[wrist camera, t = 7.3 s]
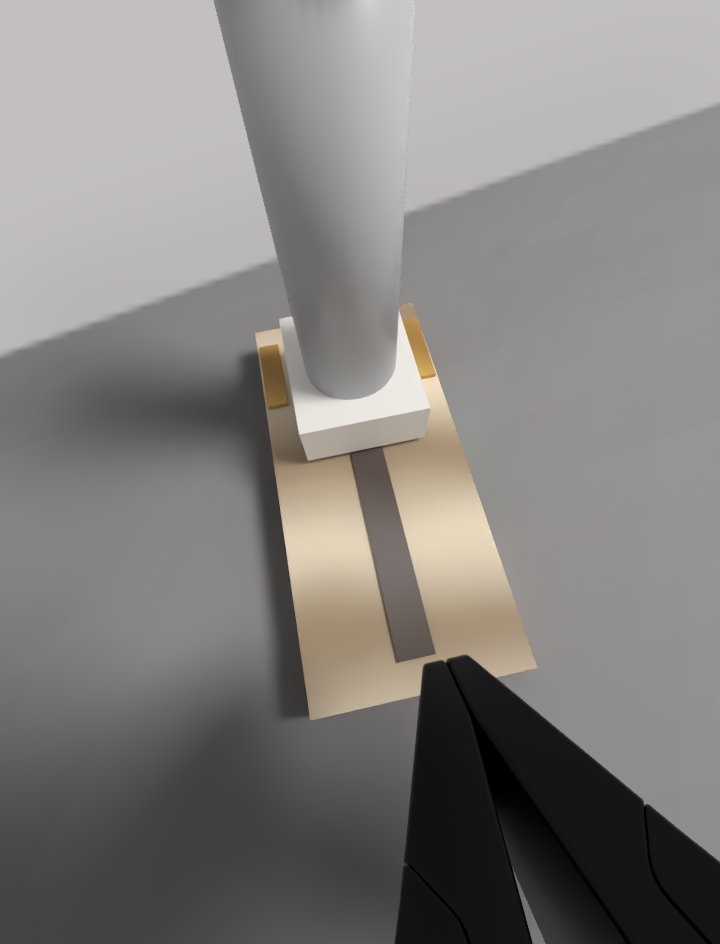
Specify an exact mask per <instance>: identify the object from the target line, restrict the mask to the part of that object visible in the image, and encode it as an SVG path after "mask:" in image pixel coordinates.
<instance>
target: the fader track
mask: <svg viewBox="0 0 720 944" xmlns="http://www.w3.org/2000/svg"><path fill="white" fill-rule="evenodd" d="M399 312H400V315H401V318H402V322H403V325H404V328H405V331H406V334H407V337H408V340H409V343H410V346H411V349H412V353H413V356H414V359H415V362H416V365H417V368H418V371H419V374H420V377H421V380H422V384H423V387H424V390H425V393H426V396H427V399H428V402H429V405H430V413H429V418H428V423H427V428H426V433H425V437H422V438H417V439H413V440H408V441H403V442H398V443H393V444H388V445H383V446H378V447H374V448H369V449H364V450H359V451H354V452H349V453H344V454H339V455H335V456H330V457H325V458H320V459H315V460H310V461H308V459H307V456H306V453H305V450H304V447H303V444H302V442H301V439H300V436H299V431H298V425H297V420H296V414H295V408H294V402H293V397H292V391H291V385H290V379H289V373H288V368H287V362H286V356H285V350H284V345H283V339H282V333H281V328H279V329H274V330H269V331H263V332H258V333H255V335H256V342H257V349H258V356H259V363H260V370H261V377H262V384H263V391H264V398H265V405H266V412H267V419H268V426H269V433H270V440H271V447H272V454H273V461H274V468H275V475H276V483H277V490H278V497H279V504H280V511H281V518H282V525H283V532H284V539H285V546H286V553H287V560H288V567H289V574H290V581H291V588H292V595H293V602H294V609H295V616H296V623H297V630H298V637H299V644H300V651H301V658H302V665H303V672H304V679H305V686H306V693H307V700H308V707H309V714H310V721H312V720H316V719H320V718H324V717H329V716H333V715H337V714H342V713H346V712H350V711H354V710H359V709H363V708H367V707H372V706H376V705H380V704H384V703H389V702H393V701H397V700H402V699H406V698H410V697H414V696H419V695H420V690H421V679H422V669H423V665H424V664H425V663H429V662H433V661H438V660H444V661H445V662H446V660H447V659H448V658H451V657H455V656H459V655H464V654H466V655H469V656H470V657H471V658H473V659H474V660H475V661H476V662H477V663H479V664H480V665H481V666H482V667H483V668H485V669H486V670H487V671H488V672H489V673H491V674H492V675H493V676H494V677H500V676H504V675H509V674H513V673H517V672H522V671H526V670H530V669H534V668H537V665H536V662H535V659H534V656H533V653H532V650H531V648H530V645H529V642H528V639H527V636H526V633H525V630H524V627H523V624H522V621H521V618H520V615H519V613H518V610H517V607H516V604H515V601H514V598H513V595H512V592H511V589H510V586H509V583H508V580H507V577H506V575H505V572H504V569H503V566H502V563H501V560H500V557H499V554H498V551H497V548H496V545H495V542H494V539H493V537H492V534H491V531H490V528H489V525H488V522H487V519H486V516H485V513H484V510H483V507H482V504H481V502H480V499H479V496H478V493H477V490H476V487H475V484H474V481H473V478H472V475H471V472H470V469H469V466H468V464H467V461H466V458H465V455H464V452H463V449H462V446H461V443H460V440H459V437H458V434H457V431H456V429H455V426H454V423H453V420H452V417H451V414H450V411H449V408H448V405H447V402H446V399H445V396H444V393H443V391H442V388H441V385H440V382H439V379H438V376H437V373H436V370H435V367H434V364H433V361H432V358H431V356H430V353H429V350H428V347H427V344H426V341H425V338H424V335H423V332H422V329H421V326H420V323H419V320H418V318H417V315H416V312H415V309H414V306H413V303H410V304H405V305H400V306H399Z"/></svg>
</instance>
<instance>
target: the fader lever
mask: <svg viewBox="0 0 720 944" xmlns="http://www.w3.org/2000/svg"><path fill="white" fill-rule="evenodd" d="M214 4H215V7H216V12H217V16H218V20H219V24H220V27H221V31H222V36H223V40H224V44H225V48H226V52H227V56H228V60H229V64H230V68H231V72H232V76H233V80H234V84H235V88H236V92H237V96H238V100H239V104H240V108H241V112H242V117H243V121H244V125H245V129H246V132H247V137H248V141H249V145H250V149H251V153H252V157H253V161H254V165H255V169H256V173H257V177H258V181H259V185H260V189H261V193H262V197H263V201H264V205H265V209H266V213H267V217H268V221H269V225H270V229H271V233H272V237H273V241H274V245H275V249H276V253H277V257H278V261H279V266H280V270H281V274H282V278H283V282H284V286H285V290H286V294H287V298H288V302H289V306H290V310H291V314H292V317H287V318H282V319H279V322H280V327H281V333H282V339H283V345H284V350H285V356H286V362H287V368H288V373H289V379H290V385H291V391H292V397H293V402H294V408H295V414H296V420H297V425H298V431H299V436H300V439H301V442H302V444H303V447H304V450H305V453H306V456H307V459H308V461H310V460H315V459H320V458H325V457H330V456H335V455H339V454H344V453H349V452H354V451H359V450H364V449H369V448H374V447H378V446H383V445H388V444H393V443H398V442H403V441H408V440H413V439H417V438H422V437H425V433H426V428H427V423H428V418H429V413H430V405H429V402H428V399H427V396H426V393H425V390H424V387H423V384H422V380H421V377H420V374H419V371H418V368H417V365H416V362H415V359H414V356H413V353H412V349H411V346H410V343H409V340H408V337H407V334H406V331H405V328H404V325H403V322H402V318H401V315H400V312H399V298H400V279H401V260H402V242H403V223H404V203H405V185H406V184H405V183H406V167H407V148H408V129H409V111H410V92H411V74H412V54H413V35H414V17H415V0H214Z"/></svg>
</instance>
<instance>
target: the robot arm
mask: <svg viewBox="0 0 720 944" xmlns="http://www.w3.org/2000/svg"><path fill="white" fill-rule="evenodd" d="M404 862H405V866H404V867H403V875H402V886H401V896H400V905H399V913H398V921H397V929H396V937H395V944H533V943H532V939H531V936H530V932H529V928H528V925H527V921H526V917H525V913H524V910H523V906H522V902H521V899H520V895H519V891H518V888H517V884H516V880H515V876H514V873H513V869H514V872H515V874H516V876H517V879H518V881H519V883H520V886H521V888H522V890H523V892H524V895H525V897H526V899H527V902H528V904H529V906H530V909H531V911H532V913H533V915H534V918H535V920H536V922H537V925H538V927H539V929H540V932H541V934H542V936H543V938H544V941H545V943H546V944H720V862H719V861H718V860H717V859H716V858H714V857H713V856H712V855H711V854H709V853H708V852H707V851H706V850H704V849H703V848H702V847H700V846H699V845H698V844H697V843H695V842H694V841H693V840H692V839H690V838H689V837H688V836H687V835H685V834H684V833H683V832H682V831H680V830H679V829H678V828H677V827H675V826H674V825H673V824H672V823H671V822H669V821H668V820H667V819H666V818H665V817H663V816H662V815H661V814H660V813H659V812H657V811H656V810H655V809H654V808H653V807H651V806H650V805H648V804H646V805H645V806H644V801H643V800H642V799H641V798H640V797H639V796H638V795H637V794H635V793H634V792H633V791H632V790H631V789H629V788H628V787H627V786H626V785H625V784H623V783H622V782H621V781H620V780H619V779H617V778H616V777H615V776H614V775H613V774H611V773H610V772H609V771H608V770H606V769H605V768H604V767H603V766H602V765H600V764H599V763H598V762H597V761H596V760H594V759H593V758H592V757H591V756H590V755H588V754H587V753H586V752H585V751H584V750H582V749H581V748H580V747H579V746H578V745H576V744H575V743H574V742H573V741H571V740H570V739H569V738H568V737H567V736H565V735H564V734H563V733H562V732H561V731H559V730H558V729H557V728H556V727H555V726H553V725H552V724H551V723H550V722H549V721H547V720H546V719H545V718H544V717H543V716H541V715H540V714H539V713H538V712H537V711H535V710H534V709H533V708H532V707H530V706H529V705H528V704H527V703H526V702H524V701H523V700H522V699H521V698H520V697H518V696H517V695H516V694H515V693H514V692H512V691H511V690H510V689H509V688H508V687H506V686H505V685H504V684H503V683H502V682H500V681H499V680H498V679H497V678H496V677H494V676H493V675H492V674H491V673H489V672H488V671H487V670H486V669H485V668H483V667H482V666H481V665H480V664H479V663H477V662H476V661H475V660H474V659H473V658H471V657H470V656H469V655H466V654H464V655H459V656H455V657H451V658H448V659H447V660H446V662H445V661H444V660H438V661H433V662H429V663H425V664H424V665H423V669H422V679H421V690H420V700H419V711H418V722H417V732H416V743H415V753H414V764H413V774H412V785H411V795H410V806H409V816H408V827H407V837H406V847H405V858H404ZM512 867H513V869H512Z"/></svg>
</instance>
